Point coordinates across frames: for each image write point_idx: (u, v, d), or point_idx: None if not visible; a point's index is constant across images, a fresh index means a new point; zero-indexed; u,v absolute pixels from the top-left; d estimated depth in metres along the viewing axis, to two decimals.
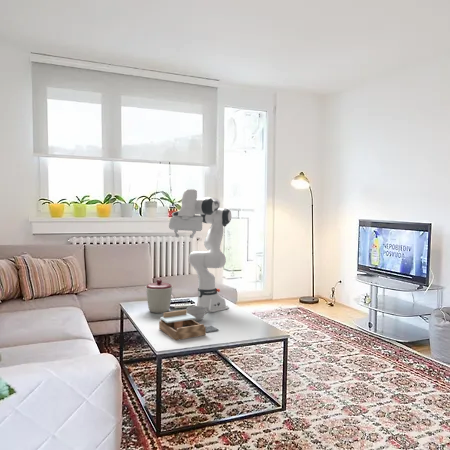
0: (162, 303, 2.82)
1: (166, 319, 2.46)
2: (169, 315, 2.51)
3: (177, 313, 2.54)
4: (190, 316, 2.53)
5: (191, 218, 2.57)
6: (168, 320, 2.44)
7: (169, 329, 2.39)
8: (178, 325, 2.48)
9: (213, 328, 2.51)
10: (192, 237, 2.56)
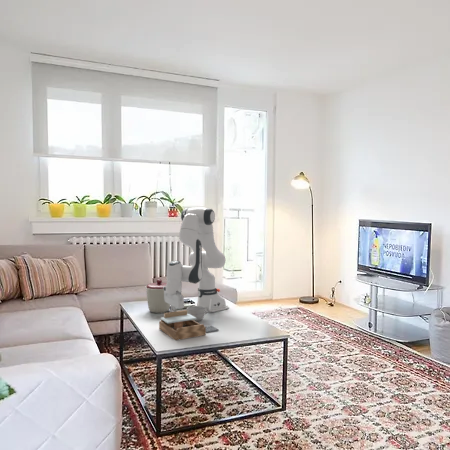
0: (162, 303, 2.82)
1: (167, 319, 2.45)
2: (170, 315, 2.51)
3: (178, 313, 2.53)
4: (191, 316, 2.52)
5: (174, 295, 2.50)
6: (169, 320, 2.43)
7: (169, 329, 2.39)
8: (178, 325, 2.48)
9: (213, 328, 2.51)
10: None
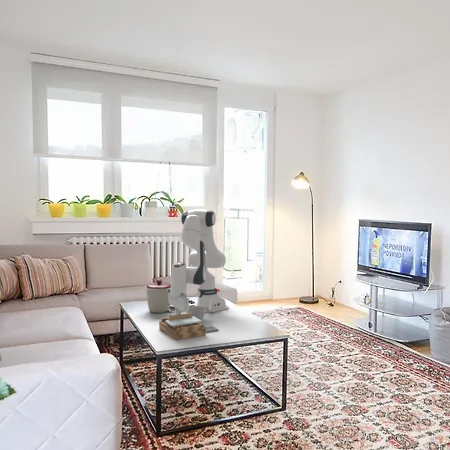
0: (162, 303, 2.82)
1: (171, 322, 2.40)
2: (174, 318, 2.45)
3: (183, 316, 2.48)
4: (196, 319, 2.46)
5: (178, 297, 2.44)
6: (173, 323, 2.38)
7: (169, 329, 2.39)
8: None
9: (213, 328, 2.51)
10: None
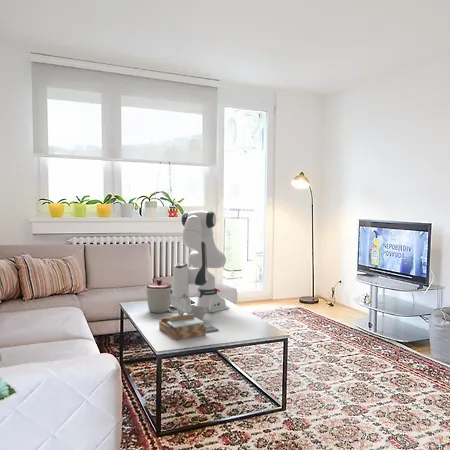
0: (162, 303, 2.82)
1: (173, 323, 2.38)
2: (176, 319, 2.43)
3: (185, 317, 2.46)
4: (198, 320, 2.44)
5: (181, 298, 2.42)
6: (175, 325, 2.36)
7: (169, 329, 2.39)
8: None
9: (213, 328, 2.51)
10: None
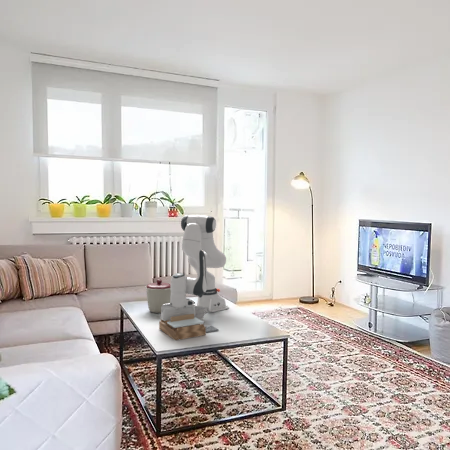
0: (162, 303, 2.82)
1: (173, 323, 2.38)
2: (176, 319, 2.43)
3: (185, 317, 2.46)
4: (198, 320, 2.44)
5: None
6: (175, 325, 2.36)
7: (169, 329, 2.39)
8: None
9: (213, 328, 2.51)
10: (171, 326, 2.49)
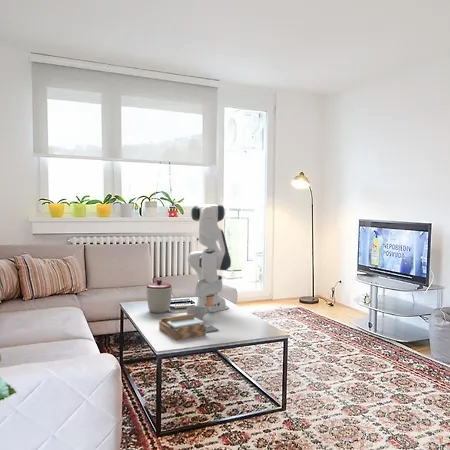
0: (162, 303, 2.82)
1: (173, 323, 2.38)
2: (176, 319, 2.43)
3: (185, 317, 2.46)
4: (198, 320, 2.44)
5: None
6: (175, 325, 2.36)
7: (169, 329, 2.39)
8: (211, 300, 2.48)
9: (213, 328, 2.51)
10: (204, 302, 2.47)
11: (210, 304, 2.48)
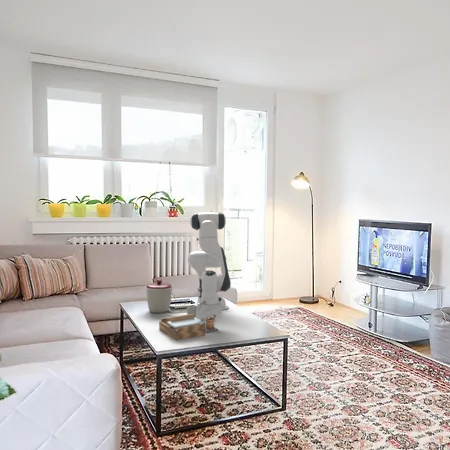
0: (162, 303, 2.82)
1: (173, 324, 2.38)
2: (176, 319, 2.43)
3: (185, 317, 2.46)
4: (198, 320, 2.44)
5: None
6: (175, 325, 2.36)
7: (169, 329, 2.39)
8: (212, 323, 2.49)
9: None
10: None
11: (211, 327, 2.49)
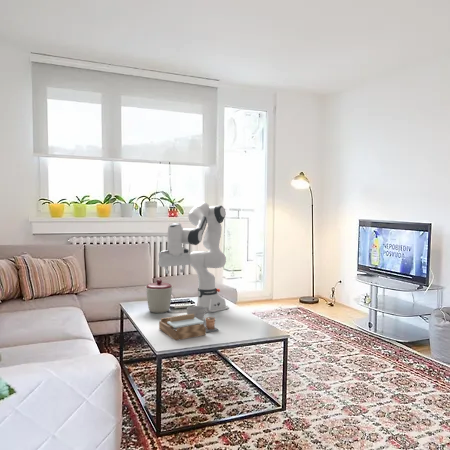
0: (162, 303, 2.82)
1: (173, 323, 2.38)
2: (176, 319, 2.43)
3: (185, 317, 2.46)
4: (198, 320, 2.44)
5: None
6: (175, 325, 2.36)
7: (169, 329, 2.39)
8: (212, 323, 2.50)
9: None
10: (166, 273, 2.64)
11: (212, 327, 2.50)
